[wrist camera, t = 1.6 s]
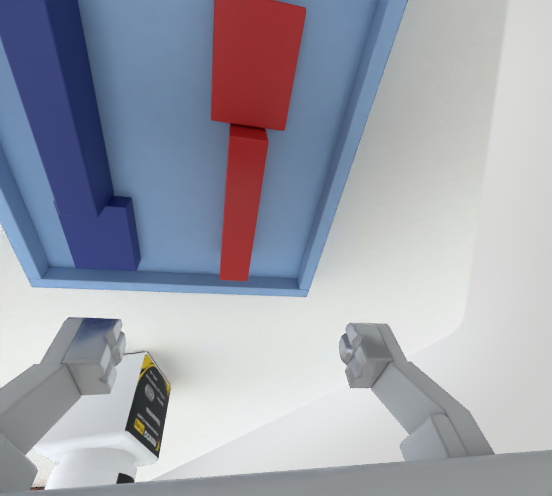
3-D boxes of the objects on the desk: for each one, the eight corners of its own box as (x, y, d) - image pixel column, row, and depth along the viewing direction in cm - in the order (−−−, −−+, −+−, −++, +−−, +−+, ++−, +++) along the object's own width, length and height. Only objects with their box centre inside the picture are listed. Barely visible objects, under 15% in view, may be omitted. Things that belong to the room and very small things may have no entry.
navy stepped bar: (141, 259, 20) (130, 286, 18) (83, 256, 19) (65, 284, 17) (101, -8, 11) (72, -13, 9) (-5, -30, 11) (-61, -40, 9)
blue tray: (-171, -234, 8) (-247, -280, 7) (410, -62, 12) (433, -72, 10) (44, 269, 20) (31, 287, 19) (302, 281, 24) (306, 297, 22)
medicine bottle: (172, 385, 32) (145, 540, 22) (106, 395, 32) (52, 555, 22) (147, 349, 27) (101, 524, 18) (71, 361, 27) (-16, 543, 18)
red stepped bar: (216, -12, 12) (211, -18, 10) (302, 8, 12) (314, 7, 10) (207, 253, 20) (204, 279, 18) (259, 256, 21) (261, 282, 19)
